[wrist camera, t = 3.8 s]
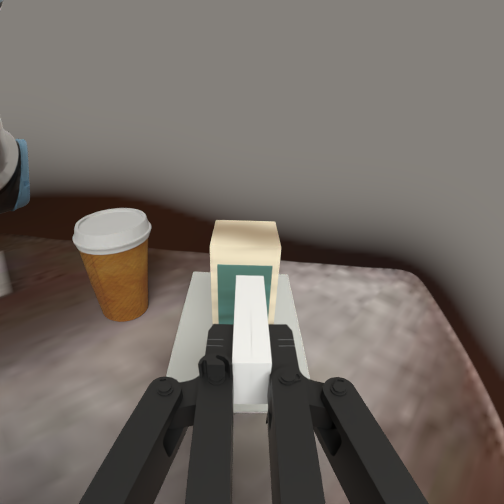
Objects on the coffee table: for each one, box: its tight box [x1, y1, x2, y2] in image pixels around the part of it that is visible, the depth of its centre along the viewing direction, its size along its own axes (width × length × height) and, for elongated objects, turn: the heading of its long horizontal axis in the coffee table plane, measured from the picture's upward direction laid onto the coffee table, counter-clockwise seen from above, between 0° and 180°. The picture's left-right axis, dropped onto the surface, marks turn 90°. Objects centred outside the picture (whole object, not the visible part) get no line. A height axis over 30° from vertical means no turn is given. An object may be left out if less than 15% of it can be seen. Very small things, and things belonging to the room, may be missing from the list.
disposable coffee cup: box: [73, 208, 151, 322], centre depth 35 cm, size 10×10×12 cm
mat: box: [166, 272, 310, 413], centre depth 35 cm, size 24×14×1 cm, turn 1°
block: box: [210, 220, 281, 324], centre depth 27 cm, size 5×5×14 cm
